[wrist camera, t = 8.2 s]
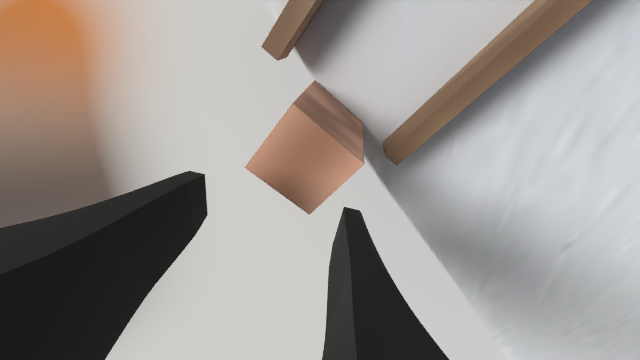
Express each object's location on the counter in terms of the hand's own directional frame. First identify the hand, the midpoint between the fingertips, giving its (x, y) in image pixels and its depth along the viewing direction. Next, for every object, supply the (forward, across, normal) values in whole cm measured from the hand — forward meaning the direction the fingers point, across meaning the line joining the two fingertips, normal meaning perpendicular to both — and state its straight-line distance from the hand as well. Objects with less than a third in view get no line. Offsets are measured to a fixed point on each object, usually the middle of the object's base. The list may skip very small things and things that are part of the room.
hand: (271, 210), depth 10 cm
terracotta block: (+8, -1, -1) cm, 9 cm away
